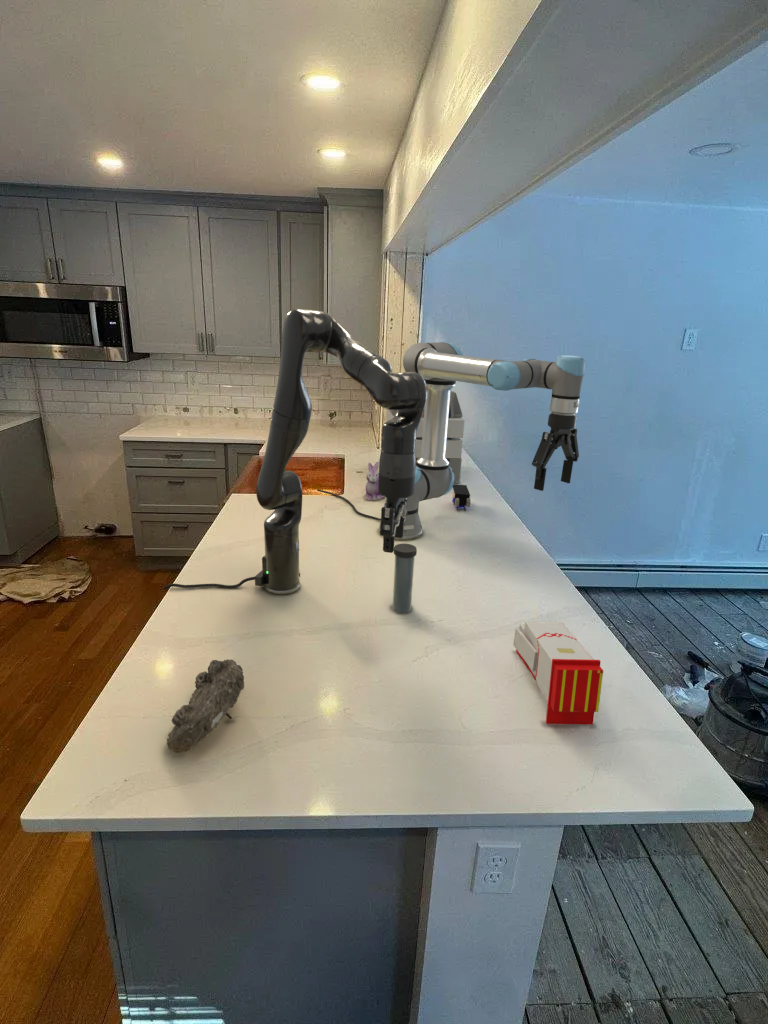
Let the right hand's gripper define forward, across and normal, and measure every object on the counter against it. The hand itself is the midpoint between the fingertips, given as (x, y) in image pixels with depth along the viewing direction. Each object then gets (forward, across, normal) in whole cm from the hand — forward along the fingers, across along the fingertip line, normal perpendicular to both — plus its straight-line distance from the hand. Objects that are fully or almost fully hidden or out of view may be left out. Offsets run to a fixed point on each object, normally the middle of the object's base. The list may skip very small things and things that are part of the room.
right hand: (552, 485), depth 166 cm
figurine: (+28, +4, +84) cm, 89 cm away
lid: (+11, -50, +9) cm, 51 cm away
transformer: (+28, +46, +101) cm, 115 cm away
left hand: (+1, -66, -4) cm, 66 cm away
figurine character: (+28, +26, +56) cm, 68 cm away
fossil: (+28, -107, 0) cm, 110 cm away
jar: (+28, -50, +9) cm, 58 cm away
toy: (+28, -45, -34) cm, 63 cm away
